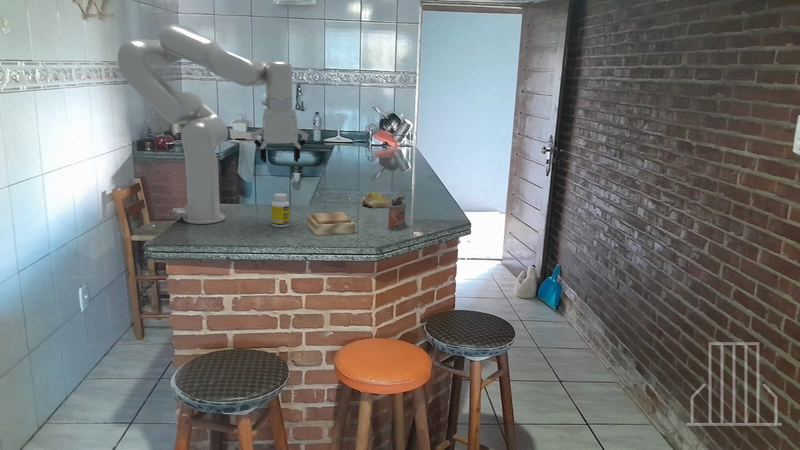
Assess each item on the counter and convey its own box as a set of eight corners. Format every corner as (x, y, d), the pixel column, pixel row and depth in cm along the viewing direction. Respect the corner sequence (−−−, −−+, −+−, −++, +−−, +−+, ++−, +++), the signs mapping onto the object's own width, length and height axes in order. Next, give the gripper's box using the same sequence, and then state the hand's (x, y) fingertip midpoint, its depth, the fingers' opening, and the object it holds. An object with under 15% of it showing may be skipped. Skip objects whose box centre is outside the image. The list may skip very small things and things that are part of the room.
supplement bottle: (285, 228, 183) (285, 196, 180) (269, 226, 184) (268, 195, 181) (292, 223, 188) (291, 193, 186) (276, 222, 189) (275, 192, 187)
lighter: (394, 230, 185) (395, 199, 183) (385, 228, 187) (386, 197, 184) (407, 225, 192) (409, 195, 189) (398, 223, 194) (400, 193, 191)
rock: (362, 208, 224) (355, 201, 214) (368, 191, 225) (361, 183, 215) (393, 218, 221) (386, 211, 211) (399, 200, 221) (393, 193, 212)
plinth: (316, 235, 176) (316, 222, 175) (307, 225, 187) (307, 213, 186) (355, 233, 180) (355, 220, 179) (344, 223, 191) (344, 211, 190)
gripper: (251, 104, 170) (253, 164, 174) (311, 105, 176) (311, 163, 181) (248, 103, 177) (249, 160, 181) (305, 104, 183) (305, 159, 187)
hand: (280, 161), depth 181 cm, fingers open, 9 cm apart
